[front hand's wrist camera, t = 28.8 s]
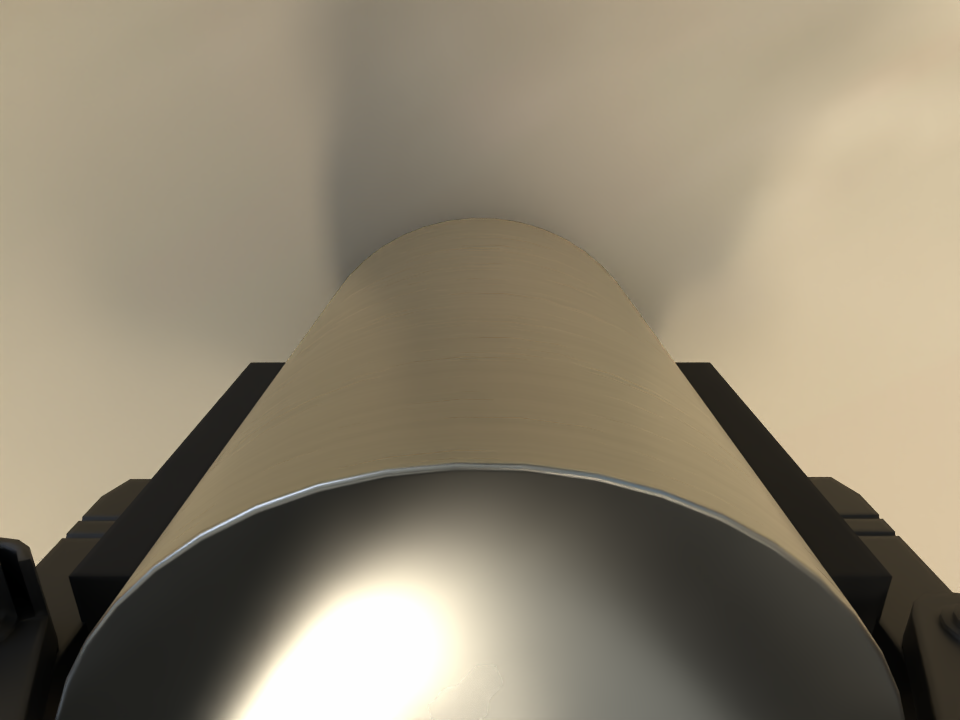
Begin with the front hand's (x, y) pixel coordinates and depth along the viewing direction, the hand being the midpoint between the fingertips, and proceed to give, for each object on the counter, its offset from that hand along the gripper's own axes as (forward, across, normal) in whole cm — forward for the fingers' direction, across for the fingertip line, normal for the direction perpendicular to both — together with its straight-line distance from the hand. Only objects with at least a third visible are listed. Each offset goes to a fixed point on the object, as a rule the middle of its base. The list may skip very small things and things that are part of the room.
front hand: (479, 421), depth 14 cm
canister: (+2, 0, 0) cm, 2 cm away
